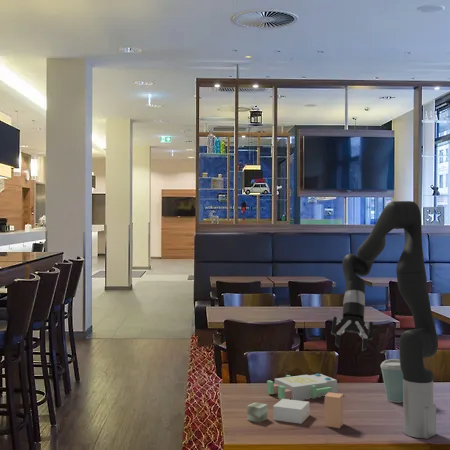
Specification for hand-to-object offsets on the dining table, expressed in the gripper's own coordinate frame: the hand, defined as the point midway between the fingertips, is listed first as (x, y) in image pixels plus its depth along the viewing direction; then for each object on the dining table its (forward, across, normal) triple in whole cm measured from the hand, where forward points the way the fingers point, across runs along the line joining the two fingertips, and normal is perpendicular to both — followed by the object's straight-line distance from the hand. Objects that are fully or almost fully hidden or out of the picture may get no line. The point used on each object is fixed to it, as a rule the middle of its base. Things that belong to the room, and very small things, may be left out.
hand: (350, 348), depth 199 cm
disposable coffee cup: (+6, +21, +33) cm, 40 cm away
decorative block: (+8, -14, +39) cm, 43 cm away
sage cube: (+27, -29, +10) cm, 41 cm away
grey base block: (+24, -17, +13) cm, 32 cm away
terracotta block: (+25, -3, +7) cm, 26 cm away
